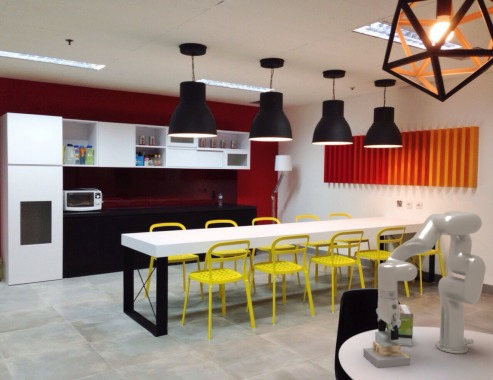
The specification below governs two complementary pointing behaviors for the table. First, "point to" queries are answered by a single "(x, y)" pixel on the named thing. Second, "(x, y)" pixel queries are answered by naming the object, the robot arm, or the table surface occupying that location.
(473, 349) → the table surface
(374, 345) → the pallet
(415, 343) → the table surface
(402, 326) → the tea box
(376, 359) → the dock
